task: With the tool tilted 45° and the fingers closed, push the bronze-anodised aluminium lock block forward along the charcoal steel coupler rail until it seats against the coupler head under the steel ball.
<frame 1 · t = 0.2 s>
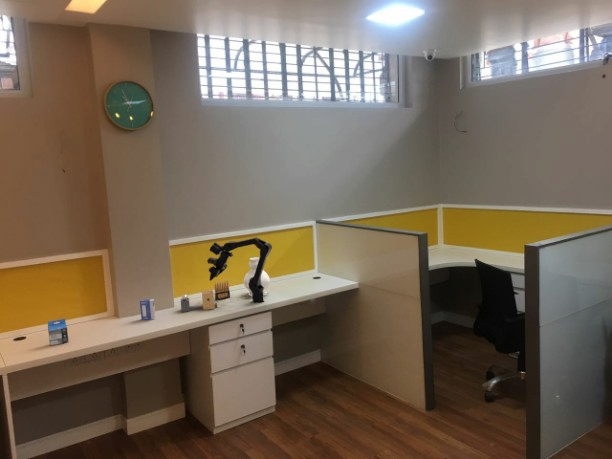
hand: (212, 278, 353), 15 cm above the table, tool tilted 30°, fingers open, 9 cm apart
ammunition clip: (222, 299, 358), on the table
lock: (208, 299, 336), point 5 cm above the table, slide at 0.0 cm
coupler: (208, 308, 337), on the table
decorative vase: (257, 294, 366), on the table
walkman: (148, 319, 320), on the table
label tape cartridge: (59, 343, 283), on the table
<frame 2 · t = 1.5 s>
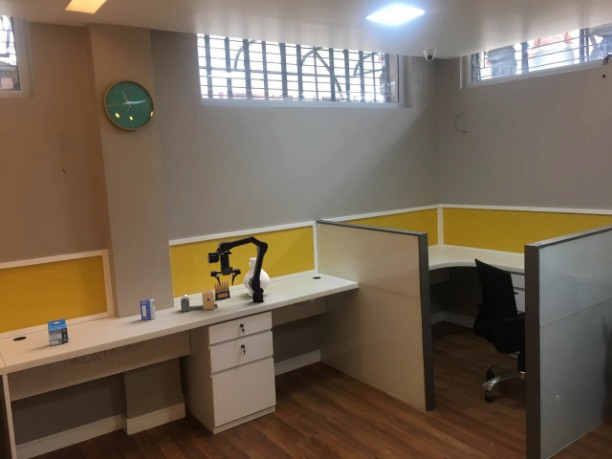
hand: (226, 285, 338), 13 cm above the table, tool pointing down, fingers open, 7 cm apart
nothing on the table moved.
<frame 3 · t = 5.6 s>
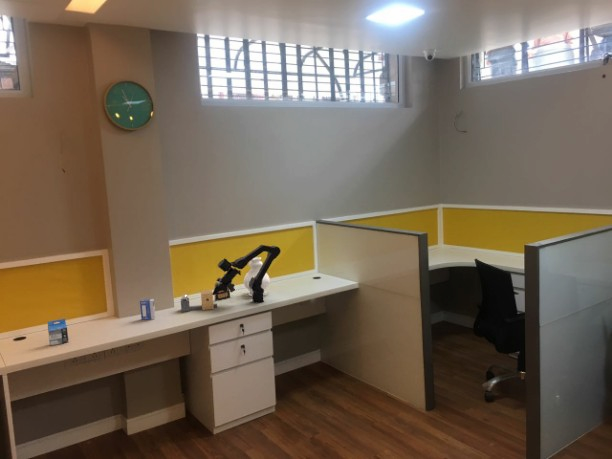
hand: (213, 294, 336), 8 cm above the table, tool tilted 45°, fingers closed, pressing on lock
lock: (207, 300, 336), point 5 cm above the table, slide at 0.6 cm, touching gripper
everything else where it was.
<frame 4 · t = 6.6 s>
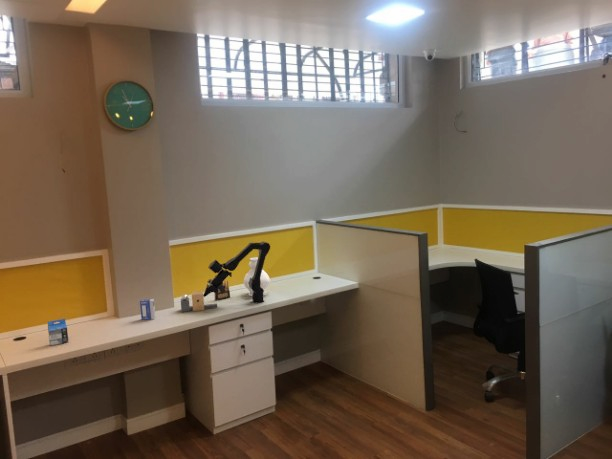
hand: (203, 296, 335), 8 cm above the table, tool tilted 45°, fingers closed, pressing on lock
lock: (197, 301, 335), point 5 cm above the table, slide at 6.3 cm, touching gripper
everything else where it was.
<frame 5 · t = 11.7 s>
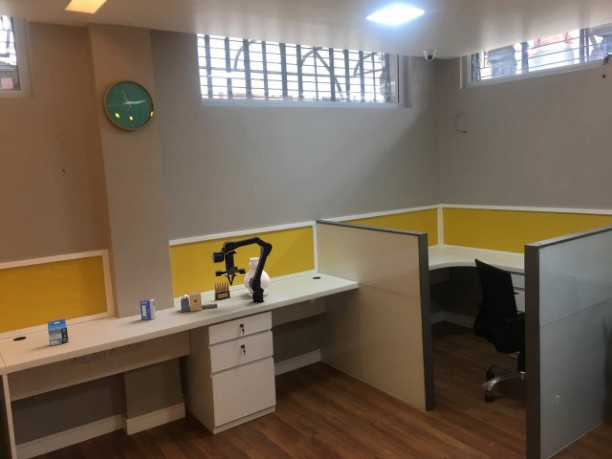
hand: (231, 285, 338), 13 cm above the table, tool pointing down, fingers closed
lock: (195, 301, 334), point 5 cm above the table, slide at 7.8 cm
everything else where it was.
at the end: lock slide at 7.8 cm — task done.
